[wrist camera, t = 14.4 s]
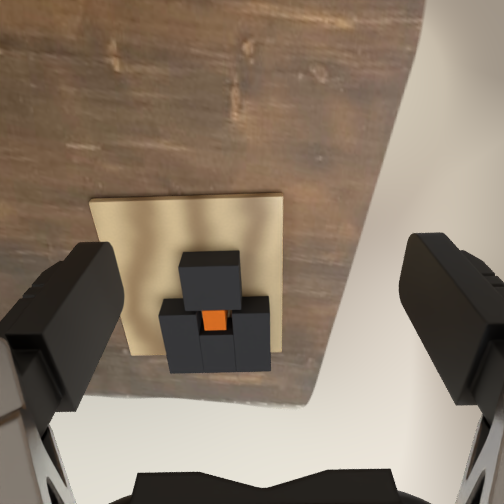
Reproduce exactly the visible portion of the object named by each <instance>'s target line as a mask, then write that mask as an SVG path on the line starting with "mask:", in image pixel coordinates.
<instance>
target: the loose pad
mask: <svg viewBox="0 0 504 504" xmlns="http://www.w3.org/2000/svg"><path fill="white" fill-rule="evenodd" d="M178 270H179V276H180V282H181V288H182V295H183V301H184V307H185V311H202V314H203V322H204V329H205V330H226V328H227V316H228V310H241V309H242V281H241V264H240V251H239V250H233V251H198V252H183V253H182V257H181V260H180V263H179V266H178Z"/></svg>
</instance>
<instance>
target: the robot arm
mask: <svg viewBox="0 0 504 504" xmlns="http://www.w3.org/2000/svg"><path fill="white" fill-rule="evenodd" d="M399 295H400V300H401V303H402V305H403V307H404V309H405V311H406V313H407V315H408V317H409V318H410V320H411V322H412V324H413V326H414V328H415V330H416V332H417V334H418V335H419V337H420V339H421V341H422V343H423V345H424V347H425V349H426V350H427V352H428V354H429V356H430V358H431V360H432V362H433V363H434V365H435V367H436V369H437V371H438V373H439V374H440V377H441V378H442V380H443V382H444V384H445V386H446V388H447V390H448V392H449V393H450V395H451V397H452V399H453V401H454V403H455V404H456V405H478V407H479V408H480V410H481V412H482V413H483V414H482V416H481V418H480V420H479V422H478V425H477V429H476V433H475V436H474V440H473V444H472V447H471V451H470V454H469V458H468V462H467V465H466V469H465V473H464V476H463V480H462V484H461V487H460V490H459V494H458V497H457V500H456V503H455V504H504V282H503V281H502V280H501V279H500V278H499V277H498V276H495V273H494V272H493V271H492V270H491V269H490V268H489V267H488V266H487V265H486V264H485V263H484V262H483V261H482V260H480V259H478V258H477V257H475V256H473V255H471V254H469V253H468V252H466V251H464V250H461V251H460V250H459V249H458V248H457V247H456V246H455V244H453V242H452V241H451V240H450V239H449V238H448V237H447V236H446V235H445V234H444V233H413V234H411V235H410V237H409V239H408V242H407V246H406V251H405V256H404V261H403V265H402V270H401V275H400V280H399ZM123 306H124V287H123V284H122V280H121V276H120V272H119V268H118V264H117V261H116V257H115V253H114V249H113V247H112V245H111V244H110V243H109V242H80V243H78V244H77V245H76V246H75V247H74V248H73V250H72V251H71V252H70V253H69V255H68V256H67V257H66V258H65V260H64V261H59V262H57V263H56V264H54V265H53V266H51V267H50V268H48V269H47V270H45V271H44V272H42V274H41V275H40V276H39V277H38V278H37V279H36V281H35V282H34V283H33V284H32V288H29V289H28V290H27V291H26V292H25V293H24V295H23V298H22V299H19V300H18V302H17V303H16V304H15V305H14V306H13V307H12V309H11V310H10V311H9V312H8V313H7V314H6V316H5V317H4V318H3V319H2V320H1V321H0V504H76V502H75V499H74V496H73V493H72V490H71V487H70V484H69V481H68V478H67V474H66V471H65V468H64V465H63V462H62V459H61V456H60V453H59V450H58V446H57V443H56V440H55V437H54V434H53V431H52V429H51V427H50V425H49V423H50V421H51V419H52V417H53V415H54V413H55V412H76V410H77V408H78V406H79V404H80V401H81V399H82V397H83V395H84V393H85V391H86V389H87V386H88V384H89V382H90V380H91V378H92V375H93V373H94V371H95V369H96V367H97V365H98V362H99V360H100V358H101V356H102V354H103V352H104V349H105V347H106V345H107V343H108V341H109V338H110V336H111V334H112V332H113V330H114V328H115V325H116V323H117V321H118V319H119V317H120V315H121V312H122V310H123ZM109 504H431V503H429V502H427V501H424V500H423V499H420V498H418V497H415V496H413V495H410V494H407V493H405V492H401V491H397V488H396V485H395V482H394V478H393V475H392V472H391V469H339V470H325V471H322V472H318V473H315V474H312V475H308V476H305V477H302V478H299V479H295V480H292V481H289V482H286V483H282V484H279V485H275V486H272V487H268V488H259V487H254V486H251V485H247V484H243V483H239V482H235V481H232V480H228V479H224V478H220V477H216V476H213V475H209V474H205V473H202V472H162V473H161V472H158V473H137V477H136V481H135V485H134V489H133V493H132V495H129V496H126V497H123V498H121V499H119V500H116V501H114V502H112V503H109Z"/></svg>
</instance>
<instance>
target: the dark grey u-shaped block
mask: <svg viewBox="0 0 504 504" xmlns="http://www.w3.org/2000/svg"><path fill="white" fill-rule="evenodd" d="M158 318H159V323H160V327H161V332H162V337H163V341H164V346H165V351H166V356H167V360H168V365H169V370H170V373H171V374H172V373H204V372H205V373H218V372H260V371H271V345H270V303H269V296H250V297H242V309H241V310H232V317H227V328H226V330H205V329H204V322H203V318H202V314H201V311H185V307H184V301H183V298H169V299H163V302H162V305H161V308H160V312H159V315H158Z"/></svg>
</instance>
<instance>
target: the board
mask: <svg viewBox="0 0 504 504" xmlns="http://www.w3.org/2000/svg"><path fill="white" fill-rule="evenodd" d="M89 205H90V209H91V213H92V216H93V220H94V223H95V227H96V230H97V234H98V237H99V241H100V242H109V243H110V244H111V245H112V247H113V249H114V253H115V257H116V261H117V264H118V268H119V272H120V276H121V280H122V284H123V287H124V306H123V310H122V312H121V315H120V316H121V320H122V323H123V327H124V330H125V334H126V337H127V341H128V345H129V348H130V352H131V355H132V356H134V355H166V351H165V346H164V341H163V337H162V332H161V327H160V323H159V318H158V315H159V312H160V308H161V305H162V302H163V299H169V298H183V295H182V288H181V282H180V276H179V270H178V266H179V263H180V260H181V257H182V253H183V252H198V251H233V250H239V251H240V264H241V281H242V297H250V296H269V303H270V345H271V352H282V276H283V193H257V194H225V195H193V196H160V197H128V198H96V199H91V200H90V202H89ZM201 314H202V311H201ZM227 317H232V310H228V316H227ZM202 318H203V314H202Z"/></svg>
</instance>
